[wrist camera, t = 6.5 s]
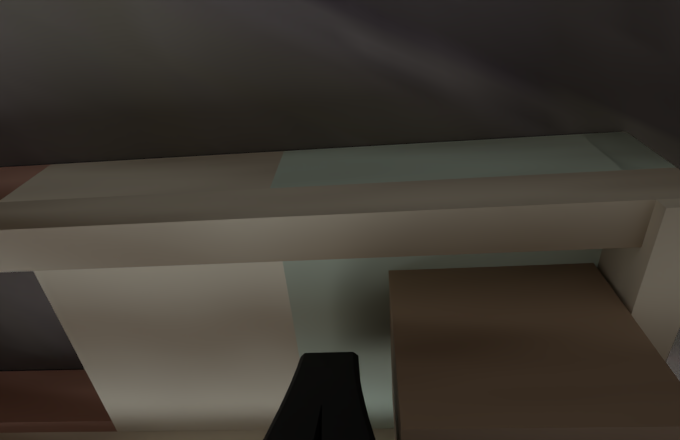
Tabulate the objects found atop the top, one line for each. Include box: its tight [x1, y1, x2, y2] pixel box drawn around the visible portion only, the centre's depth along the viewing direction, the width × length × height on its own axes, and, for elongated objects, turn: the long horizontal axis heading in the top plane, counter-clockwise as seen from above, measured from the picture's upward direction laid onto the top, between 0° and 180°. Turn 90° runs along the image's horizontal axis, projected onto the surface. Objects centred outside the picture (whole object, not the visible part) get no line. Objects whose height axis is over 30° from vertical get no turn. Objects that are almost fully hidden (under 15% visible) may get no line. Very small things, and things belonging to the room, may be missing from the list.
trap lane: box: [0, 131, 680, 440], centre depth 13 cm, size 9×30×4 cm, turn 94°
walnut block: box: [389, 263, 680, 440], centre depth 10 cm, size 4×4×4 cm
